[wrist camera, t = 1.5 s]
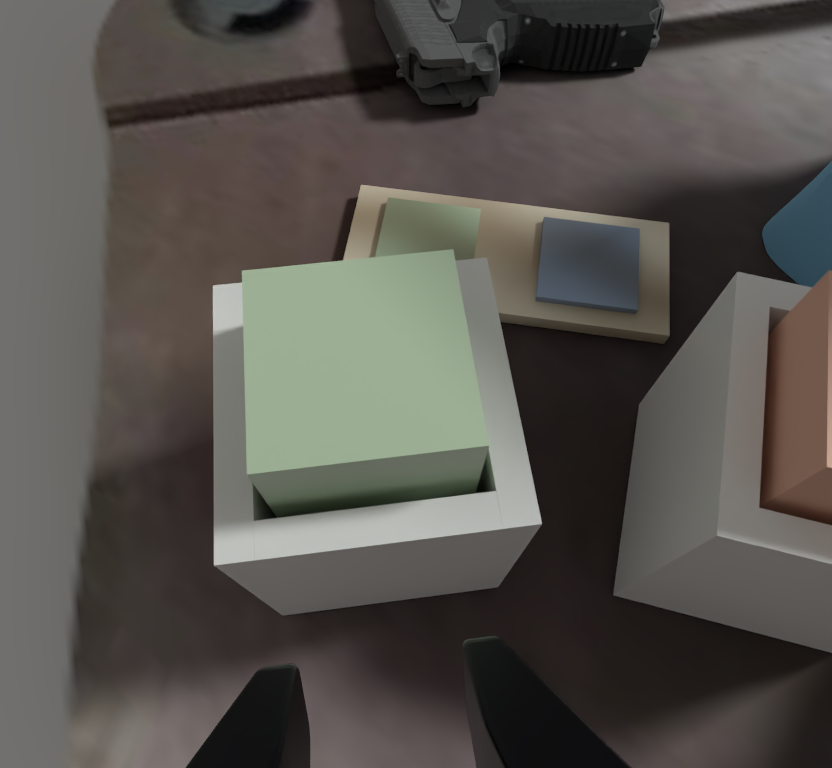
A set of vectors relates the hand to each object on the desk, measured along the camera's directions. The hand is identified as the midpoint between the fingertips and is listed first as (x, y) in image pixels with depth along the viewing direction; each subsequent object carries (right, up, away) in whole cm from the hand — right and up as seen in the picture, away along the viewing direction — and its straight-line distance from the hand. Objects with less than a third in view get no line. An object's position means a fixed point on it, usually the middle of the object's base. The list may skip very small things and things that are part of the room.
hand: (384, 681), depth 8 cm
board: (+4, +8, +19) cm, 21 cm away
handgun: (+3, +23, +26) cm, 35 cm away
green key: (-1, +1, +12) cm, 12 cm away
